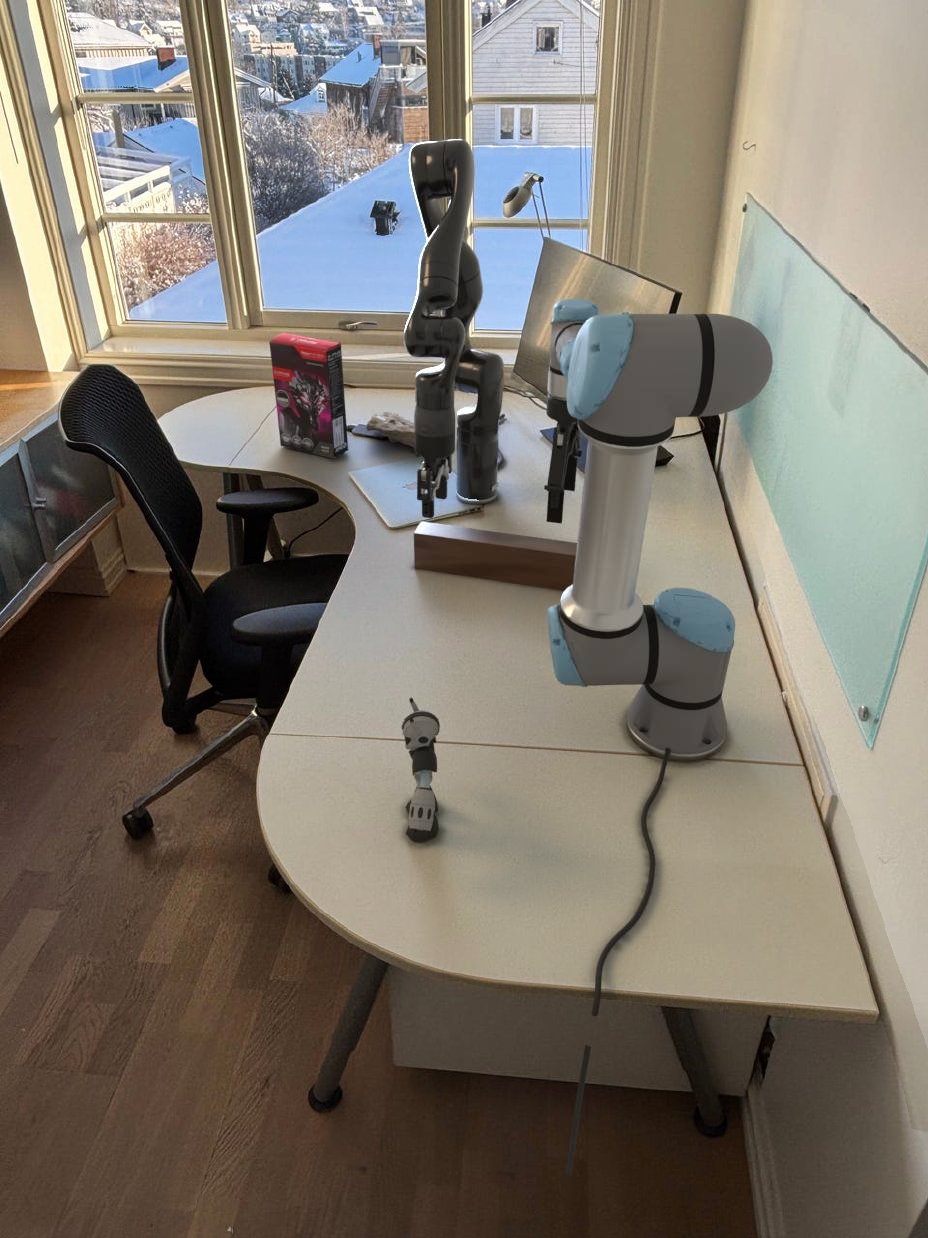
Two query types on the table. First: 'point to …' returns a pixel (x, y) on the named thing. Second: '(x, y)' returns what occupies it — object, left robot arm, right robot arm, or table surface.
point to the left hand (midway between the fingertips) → (434, 507)
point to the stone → (393, 427)
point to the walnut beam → (495, 555)
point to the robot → (422, 772)
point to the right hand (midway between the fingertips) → (561, 505)
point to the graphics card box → (309, 394)
